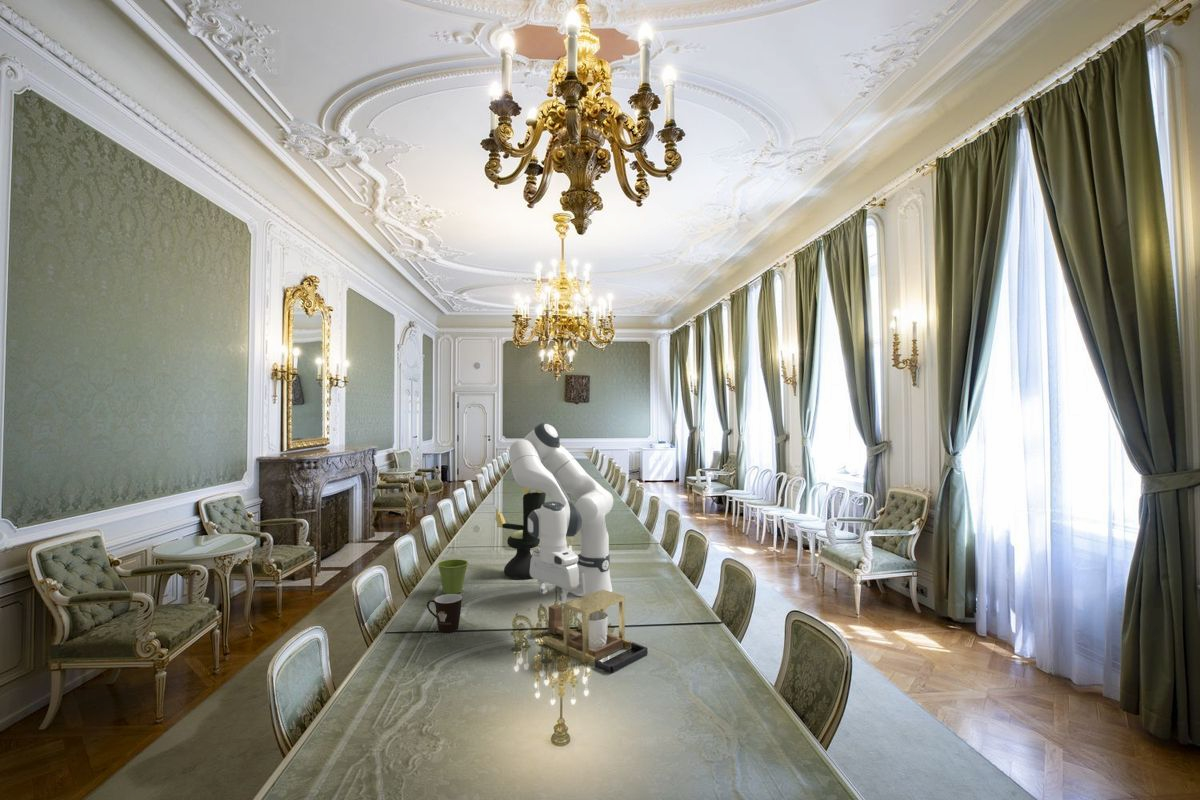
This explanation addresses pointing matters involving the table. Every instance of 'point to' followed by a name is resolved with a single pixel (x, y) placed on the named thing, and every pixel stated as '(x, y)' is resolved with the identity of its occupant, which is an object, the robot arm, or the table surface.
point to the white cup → (597, 629)
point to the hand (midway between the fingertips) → (553, 596)
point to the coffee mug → (447, 612)
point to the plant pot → (452, 575)
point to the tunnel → (587, 607)
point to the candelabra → (522, 536)
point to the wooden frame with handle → (580, 635)
